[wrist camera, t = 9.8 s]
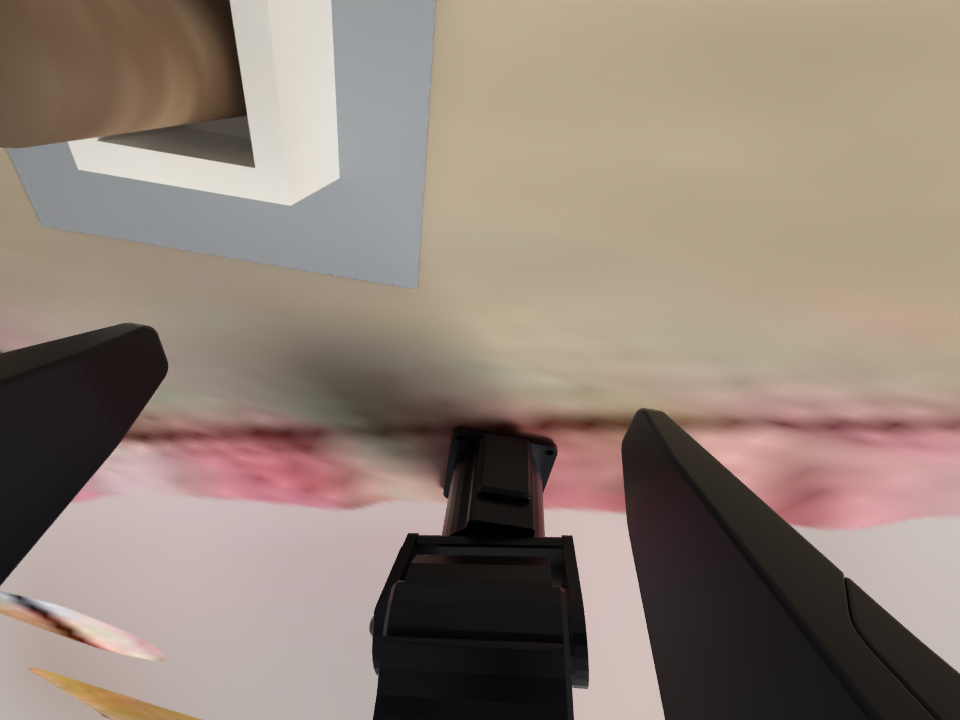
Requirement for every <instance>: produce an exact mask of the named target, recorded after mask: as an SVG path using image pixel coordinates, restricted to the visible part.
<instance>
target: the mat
mask: <svg viewBox="0 0 960 720" xmlns="http://www.w3.org/2000/svg"><path fill="white" fill-rule="evenodd" d="M331 5H332V26H333V47H334V69H335V90H336V111H337V133H338V154H339V176H340V178H339V179H337V180H336V181H334V182H332V183H330V184H328V185H327V186H325V187H323V188H321V189H320V190H318V191H316V192H314V193H313V194H311V195H309V196H307V197H305V198H304V199H302V200H300V201H298V202H297V203H295V204H293V205H291V206H288V205H283V204H277V203H271V202H265V201H259V200H253V199H247V198H241V197H236V196H230V195H224V194H218V193H212V192H206V191H200V190H195V189H189V188H183V187H177V186H171V185H165V184H159V183H154V182H148V181H142V180H136V179H130V178H124V177H118V176H113V175H107V174H101V173H95V172H89V171H83V170H78V168H77V165H76V163H75V160H74V157H73V155H72V152H71V150H70V147H69V144H68V142H61V143H54V144H47V145H40V146H34V147H27V148H16V149H14V148H6V149H7V152H8V154H9V156H10V158H11V160H12V162H13V165H14V167H15V169H16V171H17V173H18V175H19V178H20V180H21V182H22V184H23V186H24V188H25V191H26V193H27V195H28V197H29V199H30V201H31V204H32V206H33V208H34V210H35V212H36V214H37V217H38V219H39V221H40V223H41V225H42V227H48V228H54V229H60V230H66V231H72V232H78V233H84V234H90V235H96V236H102V237H108V238H114V239H120V240H126V241H131V242H137V243H143V244H149V245H155V246H161V247H167V248H173V249H179V250H185V251H191V252H197V253H203V254H209V255H215V256H221V257H226V258H232V259H238V260H244V261H250V262H256V263H262V264H268V265H274V266H280V267H286V268H292V269H298V270H304V271H310V272H316V273H322V274H327V275H333V276H339V277H345V278H351V279H357V280H363V281H369V282H375V283H381V284H387V285H393V286H399V287H405V288H411V289H417V287H418V276H419V261H420V245H421V229H422V214H423V198H424V182H425V166H426V151H427V135H428V119H429V104H430V88H431V72H432V56H433V41H434V25H435V9H436V0H331Z"/></svg>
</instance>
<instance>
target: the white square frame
mask: <svg viewBox="0 0 960 720" xmlns="http://www.w3.org/2000/svg"><path fill="white" fill-rule="evenodd" d="M230 6H231V13H232V19H233V26H234V32H235V39H236V45H237V52H238V58H239V65H240V71H241V78H242V84H243V91H244V97H245V104H246V110H247V116H240V117H233V118H226V119H220V120H213V121H206V122H199V123H192V124H185V125H178V126H171V127H164V128H158V129H151V130H144V131H137V132H130V133H123V134H116V135H109V136H102V137H96V138H89V139H82V140H75V141H68V144H69V147H70V150H71V152H72V155H73V157H74V160H75V163H76V165H77V168H78V170H83V171H89V172H95V173H101V174H107V175H113V176H118V177H124V178H130V179H136V180H142V181H148V182H154V183H159V184H165V185H171V186H177V187H183V188H189V189H195V190H200V191H206V192H212V193H218V194H224V195H230V196H236V197H241V198H247V199H253V200H259V201H265V202H271V203H277V204H283V205H288V206H291V205H293V204H295V203H297V202H298V201H300V200H302V199H304V198H305V197H307V196H309V195H311V194H313V193H314V192H316V191H318V190H320V189H321V188H323V187H325V186H327V185H328V184H330V183H332V182H334V181H336V180H337V179H339V178H340V176H339V154H338V133H337V111H336V90H335V69H334V47H333V26H332V5H331V0H230Z"/></svg>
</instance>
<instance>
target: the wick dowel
mask: <svg viewBox="0 0 960 720" xmlns="http://www.w3.org/2000/svg"><path fill="white" fill-rule="evenodd" d="M240 116H247V110H246V104H245V97H244V91H243V84H242V78H241V71H240V65H239V58H238V52H237V45H236V39H235V32H234V26H233V19H232V13H231V6H230V0H0V147H3V148H14V149H16V148H27V147H34V146H40V145H47V144H54V143H61V142H68V141H75V140H82V139H89V138H96V137H102V136H109V135H116V134H123V133H130V132H137V131H144V130H151V129H158V128H164V127H171V126H178V125H185V124H192V123H199V122H206V121H213V120H220V119H226V118H233V117H240Z"/></svg>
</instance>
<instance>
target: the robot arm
mask: <svg viewBox="0 0 960 720" xmlns="http://www.w3.org/2000/svg"><path fill="white" fill-rule="evenodd" d="M167 371H168V361H167V358H166V355H165V353H164V350H163V347H162V344H161V341H160V338H159V336H158V333H157V332H156V331H155V329H154V328H152V327H150V326H146V325H140V324H134V323H123V324H119V325H115V326H111V327H106V328H102V329H98V330H94V331H90V332H86V333H82V334H78V335H74V336H70V337H66V338H62V339H58V340H54V341H50V342H46V343H42V344H38V345H33V346H29V347H25V348H21V349H17V350H13V351H9V352H5V353H1V354H0V585H2V583H3V582H4V581H5V580H6V579H7V577H8V576H9V575H10V574H11V573H12V571H13V570H14V569H15V568H16V567H17V565H18V564H19V563H20V562H21V561H22V560H23V558H24V557H25V556H26V555H27V554H28V552H29V551H30V550H31V549H32V548H33V546H34V545H35V544H36V543H37V542H38V540H39V539H40V538H41V537H42V536H43V534H44V533H45V532H46V531H47V530H48V528H49V527H50V526H51V525H52V524H53V523H54V521H55V520H56V519H57V518H58V517H59V515H60V514H61V513H62V512H63V511H64V509H65V508H66V507H67V506H68V505H69V503H70V502H71V501H72V500H73V499H74V498H75V496H76V495H77V494H78V493H79V492H80V490H81V489H82V488H83V487H84V486H85V484H86V483H87V482H88V481H89V480H90V478H91V477H92V476H93V475H94V474H95V473H96V471H97V470H98V469H99V468H100V467H101V465H102V464H103V463H104V462H105V461H106V459H107V458H108V457H109V456H110V455H111V453H112V452H113V451H114V450H115V448H116V447H117V446H118V445H119V443H120V442H121V441H122V439H123V438H124V436H125V435H126V434H127V432H128V431H129V429H130V428H131V426H132V425H133V423H134V422H135V420H136V419H137V418H138V416H139V415H140V413H141V412H142V410H143V409H144V407H145V406H146V404H147V403H148V401H149V400H150V398H151V397H152V395H153V394H154V393H155V391H156V390H157V388H158V387H159V385H160V384H161V382H162V381H163V379H164V378H165V376H166V374H167ZM458 435H462V436H458ZM548 450H550V451H548ZM621 450H622V464H623V477H624V490H625V502H626V514H627V524H628V530H629V536H630V541H631V546H632V552H633V557H634V562H635V566H636V572H637V577H638V582H639V588H640V593H641V598H642V603H643V608H644V613H645V618H646V623H647V629H648V633H649V639H650V644H651V649H652V654H653V659H654V664H655V669H656V674H657V680H658V685H659V690H660V695H661V700H662V705H663V710H664V715H665V720H960V673H958V672H957V671H956V670H955V669H954V668H952V667H951V666H950V665H949V664H947V663H946V662H945V661H944V660H943V659H942V658H940V657H939V656H938V655H937V654H936V653H934V652H933V651H932V650H931V649H929V648H928V647H927V646H926V645H925V644H924V643H922V642H921V641H920V640H919V639H918V638H917V637H915V636H914V635H913V634H912V633H911V632H910V631H908V630H907V629H906V628H905V627H904V626H903V625H902V624H900V623H899V622H898V621H897V620H896V619H895V618H894V617H893V616H891V615H890V614H889V613H888V612H887V611H886V610H884V609H883V608H882V607H881V606H880V605H879V604H878V603H876V602H875V601H874V600H873V599H872V598H871V597H870V596H869V595H868V594H866V593H865V592H864V591H863V590H862V589H861V588H859V586H858V585H856V584H855V583H854V582H853V581H852V580H851V579H849V578H846V577H844V574H843V572H842V571H841V570H839V569H838V568H837V567H836V566H835V565H834V564H833V563H832V562H831V561H829V560H828V559H827V558H826V557H825V556H824V555H823V554H822V553H820V552H819V551H818V550H817V549H816V548H815V547H814V546H813V545H812V544H810V543H809V542H808V541H807V540H806V539H805V538H804V537H803V536H802V535H800V534H799V533H798V532H797V531H796V530H795V529H794V528H793V527H791V526H790V525H789V524H788V523H787V522H786V521H785V520H784V519H782V518H781V517H780V516H779V515H778V514H777V513H776V512H775V511H774V510H772V509H771V508H770V507H769V506H768V505H767V504H766V503H765V502H763V501H762V500H761V499H760V498H759V497H758V496H757V495H756V494H755V493H753V492H752V491H751V490H750V489H749V488H748V487H747V486H746V485H744V484H743V483H742V482H741V481H740V480H739V479H738V478H737V477H736V476H734V475H733V474H732V473H731V472H730V471H729V470H728V469H727V468H725V467H724V466H723V465H722V464H721V463H720V462H719V461H718V460H717V459H715V458H714V457H713V456H712V455H711V454H710V453H709V452H708V451H706V450H705V449H704V448H703V447H702V446H701V445H700V444H699V443H698V442H696V441H695V440H694V439H693V438H692V437H691V436H690V435H689V434H687V433H686V432H685V431H684V430H683V429H682V428H681V427H680V426H679V425H677V424H676V423H675V422H674V421H673V420H672V419H671V418H670V417H668V416H667V415H666V414H665V413H664V412H662V411H659V410H653V409H647V408H641V409H639V410H638V411H637V412H636V414H635V415H634V417H633V420H632V422H631V424H630V426H629V428H628V430H627V432H626V434H625V436H624V438H623V441H622V449H621ZM556 456H557V446H556V444H554V443H552V442H547V441H541V440H535V439H529V438H523V437H517V436H511V435H505V434H498V433H492V432H486V431H480V430H474V429H468V428H462V427H458V428H455V429H454V430H453V433H452V439H451V446H450V453H449V459H448V466H447V473H446V480H445V486H444V493H443V494H444V496H445V497H446V498H448V503H447V509H446V515H445V520H444V526H443V532H442V536H439V535H419V534H418V533H408V535H407V537H406V539H405V542H404V544H403V546H402V547H401V549H400V551H399V553H398V556H397V558H396V561H395V563H394V565H393V567H392V570H391V572H390V575H389V577H388V579H387V582H386V584H385V586H384V588H383V591H382V593H381V595H380V598H379V600H378V602H377V605H376V607H375V611H374V616H373V618H372V619H371V622H370V633H371V635H372V637H373V645H372V655H373V665H374V669H375V672H376V674H377V675H378V676H379V677H378V688H377V696H376V703H375V710H374V716H373V720H574V715H573V698H572V688H584V689H588V684H589V669H588V668H589V667H588V648H587V635H586V624H585V615H584V607H583V600H582V593H581V587H580V581H579V575H578V568H577V562H576V556H575V550H574V543H573V537H572V536H567V535H562V537H545V531H544V511H543V492H544V489H545V486H546V483H547V481H548V478H549V475H550V472H551V470H552V467H553V464H554V461H555V459H556Z"/></svg>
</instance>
